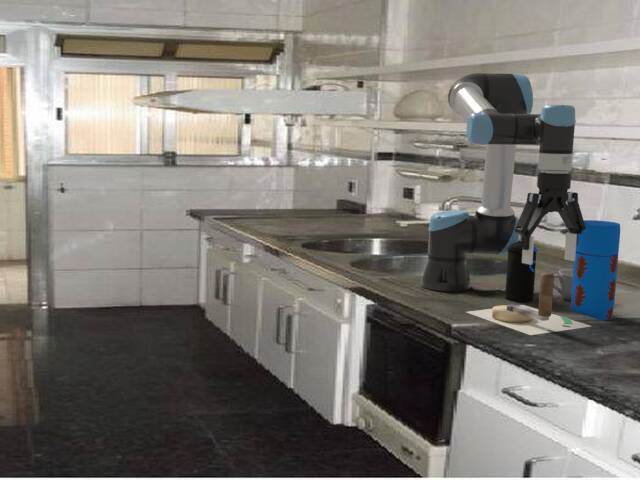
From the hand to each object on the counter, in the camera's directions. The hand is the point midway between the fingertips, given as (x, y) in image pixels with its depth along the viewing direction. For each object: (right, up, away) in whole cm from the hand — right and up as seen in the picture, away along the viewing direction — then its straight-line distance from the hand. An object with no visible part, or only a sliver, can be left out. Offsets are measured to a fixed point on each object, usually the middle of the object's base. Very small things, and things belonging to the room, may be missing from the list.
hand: (548, 262), depth 184 cm
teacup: (+19, -12, +43) cm, 48 cm away
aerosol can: (+2, -13, +35) cm, 37 cm away
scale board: (-2, -16, +12) cm, 20 cm away
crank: (-4, -15, +9) cm, 18 cm away
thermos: (+18, -15, +23) cm, 33 cm away
